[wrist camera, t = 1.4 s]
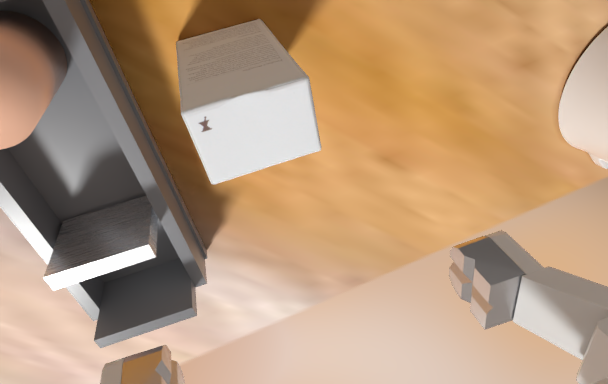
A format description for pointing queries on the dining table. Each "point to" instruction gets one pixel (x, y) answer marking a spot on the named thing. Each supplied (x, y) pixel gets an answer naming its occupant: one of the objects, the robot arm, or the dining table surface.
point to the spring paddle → (103, 242)
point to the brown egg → (26, 74)
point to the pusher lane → (100, 180)
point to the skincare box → (244, 101)
